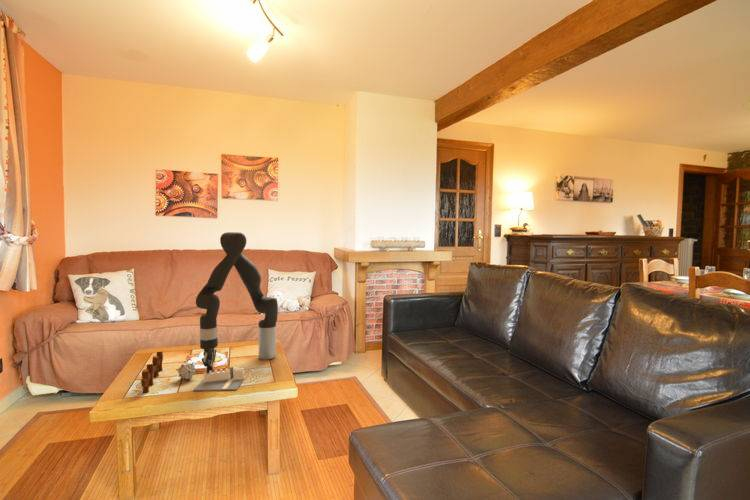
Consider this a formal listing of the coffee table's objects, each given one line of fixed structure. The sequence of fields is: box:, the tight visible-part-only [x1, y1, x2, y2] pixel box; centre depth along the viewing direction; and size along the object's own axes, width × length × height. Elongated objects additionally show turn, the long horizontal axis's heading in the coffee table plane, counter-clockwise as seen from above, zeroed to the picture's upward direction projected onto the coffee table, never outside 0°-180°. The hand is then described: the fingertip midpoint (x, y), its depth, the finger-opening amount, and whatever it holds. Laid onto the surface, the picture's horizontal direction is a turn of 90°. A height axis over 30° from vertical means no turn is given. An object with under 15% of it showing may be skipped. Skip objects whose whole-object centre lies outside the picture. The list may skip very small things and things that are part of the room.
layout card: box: [192, 377, 245, 392], centre depth 176 cm, size 13×18×1 cm
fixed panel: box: [233, 367, 245, 380], centre depth 182 cm, size 4×1×5 cm, turn 94°
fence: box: [140, 351, 164, 394], centre depth 181 cm, size 34×3×10 cm, turn 17°
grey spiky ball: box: [175, 360, 199, 382], centre depth 182 cm, size 9×8×10 cm
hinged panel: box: [203, 366, 234, 382], centre depth 180 cm, size 13×1×5 cm, turn 115°
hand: (209, 373), depth 180 cm, fingers closed
